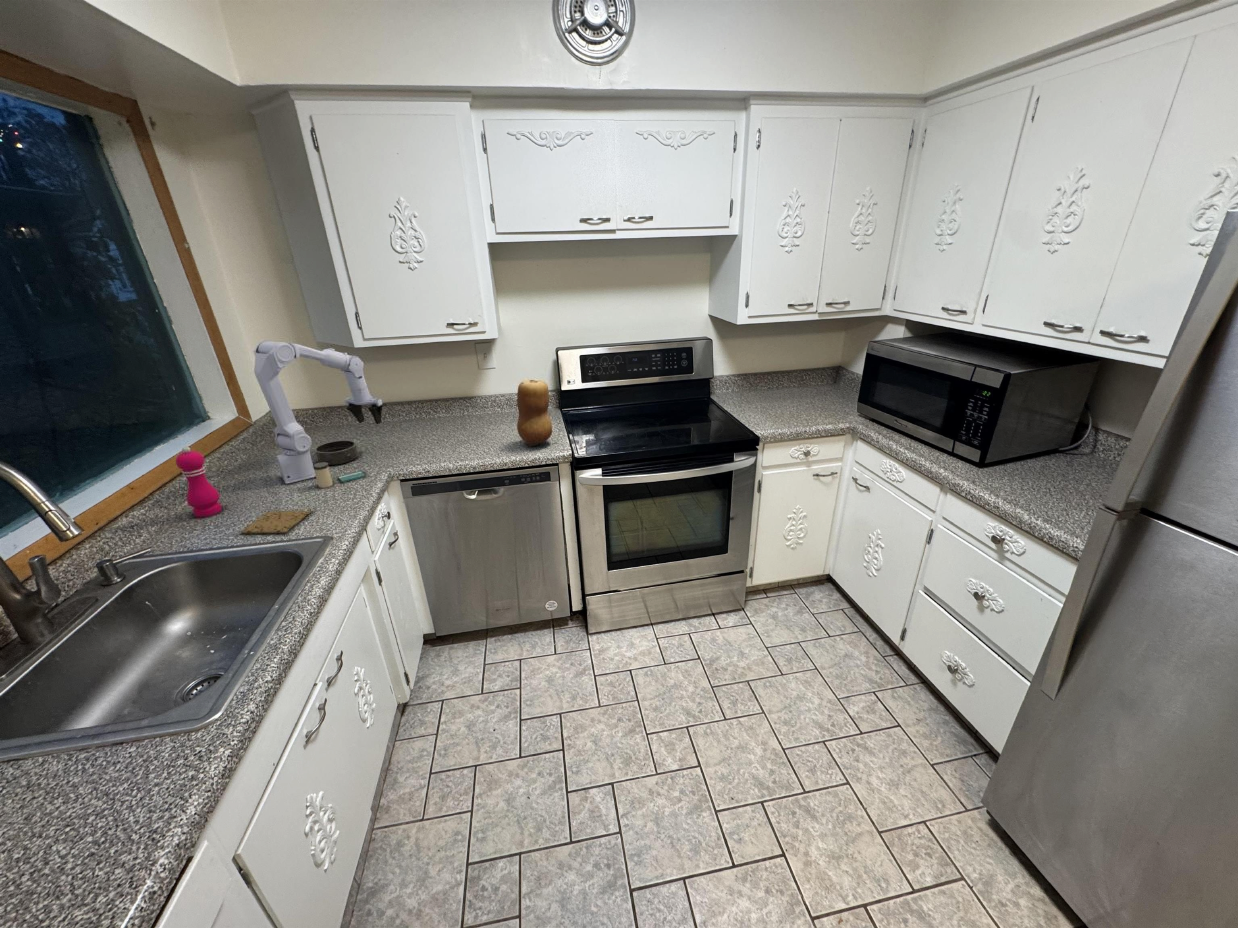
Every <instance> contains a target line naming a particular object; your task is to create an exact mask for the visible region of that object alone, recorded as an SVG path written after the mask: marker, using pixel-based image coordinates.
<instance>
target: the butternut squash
mask: <svg viewBox="0 0 1238 928" xmlns="http://www.w3.org/2000/svg"><path fill="white" fill-rule="evenodd" d="M516 396H517V397H516V406H517V409H518V418H517V424H516V429H517V430H516V431H517V433H518V436H519V437H520V439H521V440H522V441H523V442H525V443H526V444H527V445H529V446H530V447H534V446H538V445H542V444H543V443H545V442H546V441H549V439H550V438H551V437H552V434H553V425H552V421H551V418H550V415H549V411H548V410H549V403H550V391H549V386H548V384H547V382H546V381H544V380H542V379H531V378H526V379H523V380H522V381H521V382H519V384H518V386H517V392H516Z"/></svg>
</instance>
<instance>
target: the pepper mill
mask: <svg viewBox="0 0 1238 928" xmlns="http://www.w3.org/2000/svg"><path fill="white" fill-rule="evenodd" d="M204 464H205V458H204V456H203V454H202V453H200V452H198V451H194V450H191V448H190V447H189V446H183V447H182V448H181V453H180V454H178V455H177V456H176V458H175V465H176V467H178V468H179V469H180V470H181V473H182V476H183V477H185V478H186V480H187V483H188V487H187V488H188V489H187V493H186V501H187V505H189V506H190V507H192V508H193V509H192V512H193V515H194V517H197V518H205V517H209V516H213V515H217V514H218V513H220V512H221V511H222V509H223V508H222V506H221V503H220V502H219V500H220V497H221V496H220V493H219V491H218V490H217V489H216V488H215V487H214V486H213V485H211V483H210V482H209V481H208V479H207V477H206V474H205V473H206V471H207V470H206V467H205V466H203V465H204Z"/></svg>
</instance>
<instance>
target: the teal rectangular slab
mask: <svg viewBox="0 0 1238 928" xmlns="http://www.w3.org/2000/svg"><path fill="white" fill-rule="evenodd" d="M337 478H338V480H339V481H340V482H341V483H347V482H351V481H355V480H359V479H363V478H366V475H365V474H364V473H363V472H362V471H361V470H359V471H354V472H350V473H348V474H342V475H339V476H337Z"/></svg>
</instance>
